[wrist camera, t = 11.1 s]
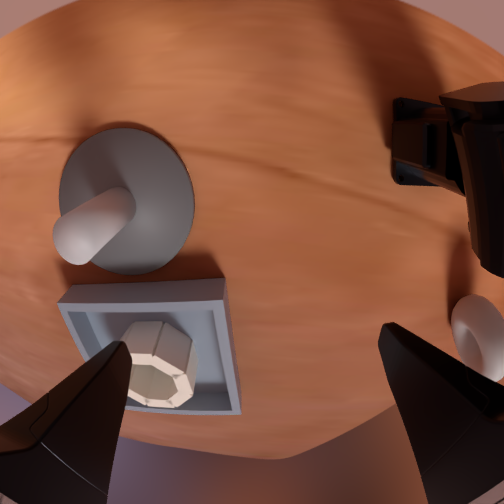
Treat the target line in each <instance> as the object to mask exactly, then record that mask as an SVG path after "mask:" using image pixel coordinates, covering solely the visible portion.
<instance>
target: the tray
mask: <svg viewBox="0 0 504 504" xmlns="http://www.w3.org/2000/svg"><path fill="white" fill-rule="evenodd" d="M57 305H58V307H59V309H60V311H61V314H62V316H63V318H64V320H65V323H66V325H67V327H68V329H69V331H70V333H71V335H72V337H73V339H74V341H75V343H76V345H77V347H78V349H79V351H80V353H81V355H82V357H83V358H84V360H85V362H87V361H88V360H89V359H91V358H92V357H93V356H94V355H96V354H97V353H98V352H99V351H101V350H102V349H103V348H105V347H106V346H107V345H108V344H110V343H111V342H112V341H115V340H116V341H120V339H121V337H122V336H123V335H124V333H125V332H126V331H127V329H128V328H129V327H130V325H131V324H132V323H134V322H135V321H163V324H165V322H166V323H168V324H170V325H171V326H173V327H174V328H176V329H177V330H179V331H180V332H182V333H184V334H185V335H187V336H188V337H190V338H191V340H193V343H194V347H195V350H196V354H197V358H198V367H197V373H196V380H195V386H194V393H193V396H192V397H191V398H189V399H188V400H187V401H185V402H184V403H183V404H181V405H180V406H178V407H175V408H167V407H152V406H148V405H147V404H146V405H144V404H142V403H140V402H138V401H136V400H134V399H132V398H131V397H129V396H128V397H127V402H126V406H125V409H126V410H135V411H144V412H154V413H168V414H187V415H241V387H240V380H239V374H238V367H237V360H236V353H235V347H234V339H233V332H232V325H231V317H230V310H229V302H228V295H227V287H226V279H225V278H214V279H197V280H179V281H159V282H137V283H112V284H82V285H72V286H71V287H70V288H69V290H68V291H67V292H66V293H65V294H64V295H63V296H62V298H61V299H60V300H59V301H58V302H57Z"/></svg>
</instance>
